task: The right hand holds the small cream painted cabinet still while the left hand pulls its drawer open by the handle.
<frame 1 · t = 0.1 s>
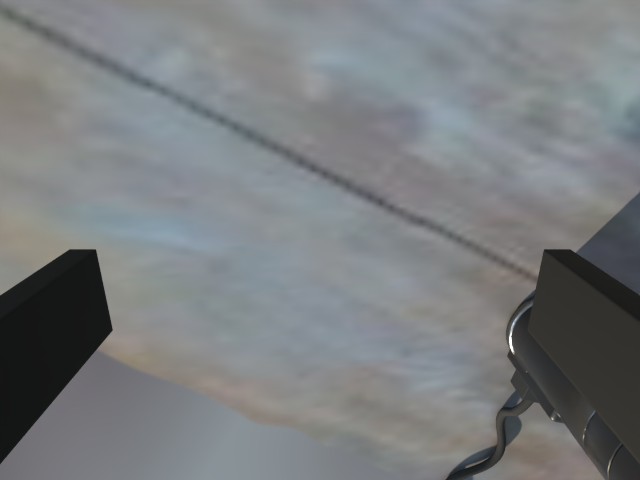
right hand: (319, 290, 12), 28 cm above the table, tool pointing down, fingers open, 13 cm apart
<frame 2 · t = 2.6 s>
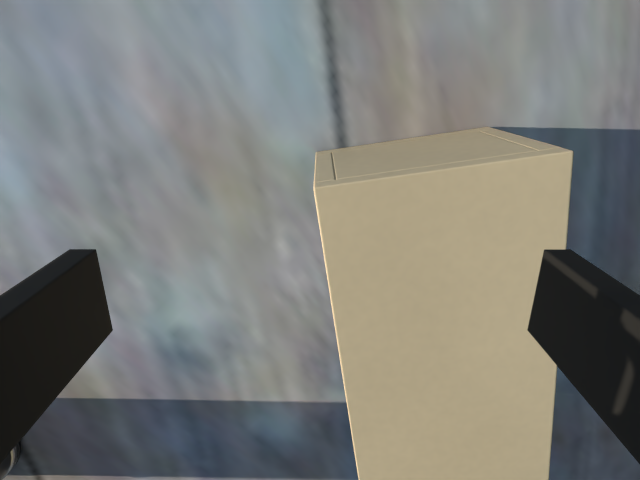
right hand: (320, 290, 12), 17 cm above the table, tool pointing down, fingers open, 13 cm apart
cabinet: (411, 275, 31), on the table
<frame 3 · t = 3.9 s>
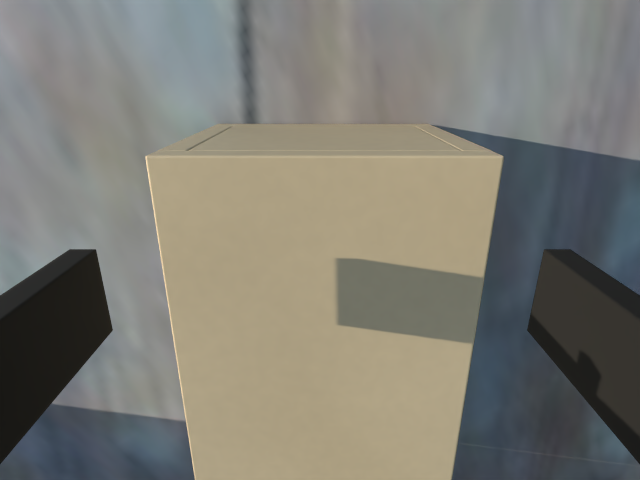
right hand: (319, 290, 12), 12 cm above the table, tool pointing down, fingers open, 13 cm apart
cabinet: (322, 290, 26), on the table
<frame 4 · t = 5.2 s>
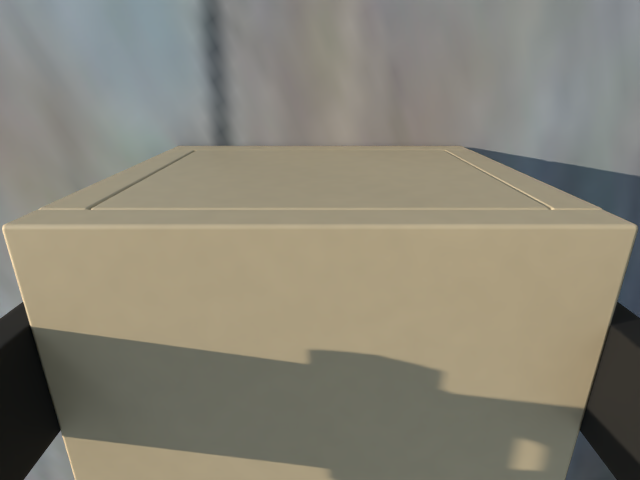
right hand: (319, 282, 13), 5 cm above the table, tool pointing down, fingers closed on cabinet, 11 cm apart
cabinet: (319, 356, 20), on the table, touching right hand
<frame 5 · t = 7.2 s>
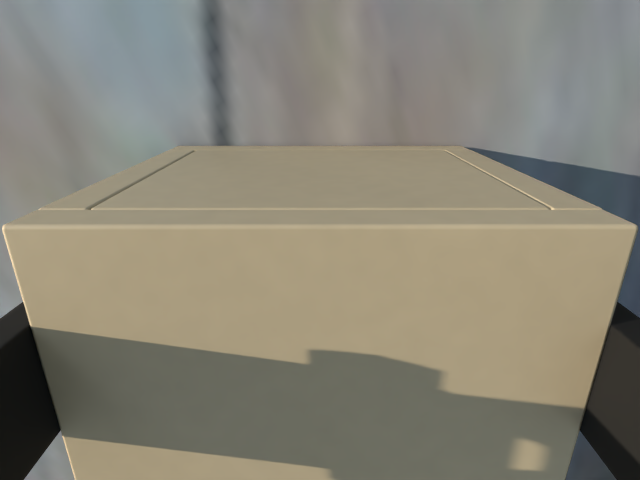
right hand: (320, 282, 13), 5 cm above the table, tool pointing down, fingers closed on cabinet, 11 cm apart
cabinet: (319, 356, 20), on the table, touching right hand
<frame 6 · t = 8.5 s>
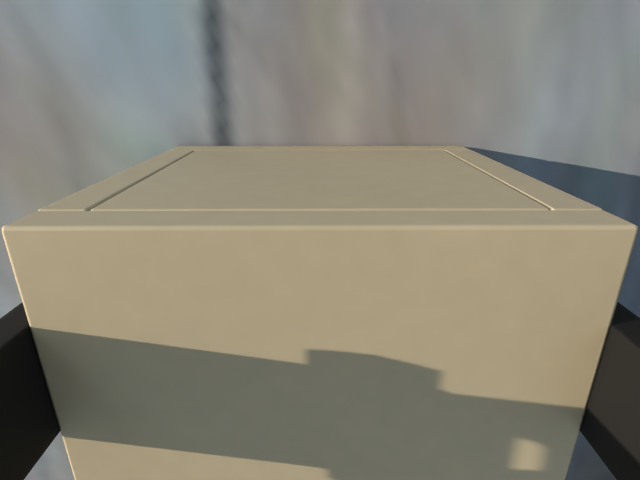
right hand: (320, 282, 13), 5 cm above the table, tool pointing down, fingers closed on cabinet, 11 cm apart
cabinet: (319, 356, 20), on the table, touching right hand
when the right hand's fingers open (5 cm above the table, at t = 10.3 s): cabinet stays where it is, on the table.
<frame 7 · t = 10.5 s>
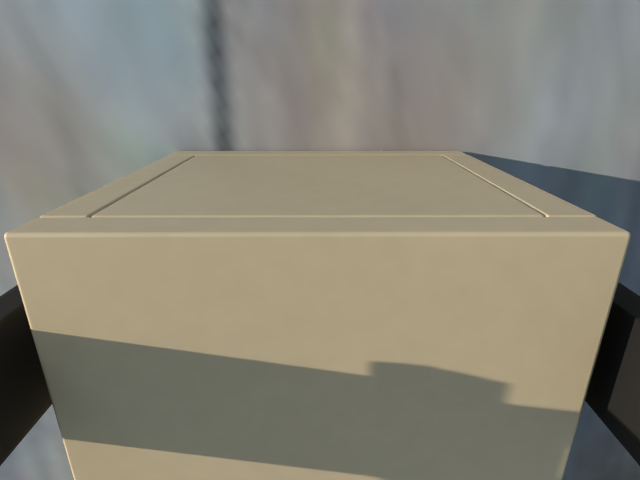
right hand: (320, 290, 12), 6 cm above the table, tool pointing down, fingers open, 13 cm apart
cabinet: (319, 360, 20), on the table
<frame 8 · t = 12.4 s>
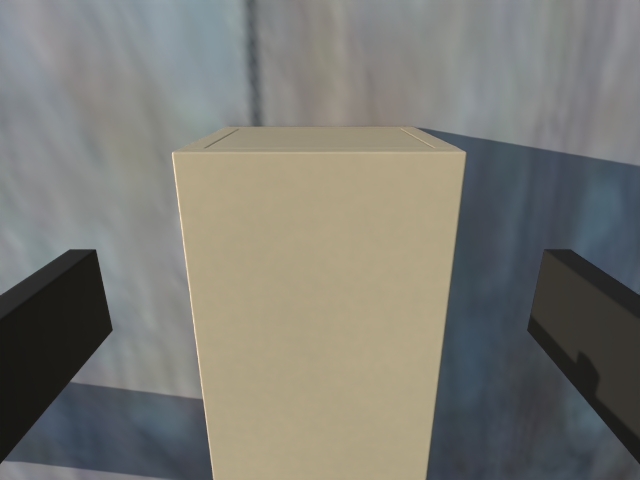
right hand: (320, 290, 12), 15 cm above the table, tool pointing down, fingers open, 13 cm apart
cabinet: (319, 277, 29), on the table
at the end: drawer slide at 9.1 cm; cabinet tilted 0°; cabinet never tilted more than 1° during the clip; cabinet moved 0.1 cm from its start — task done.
